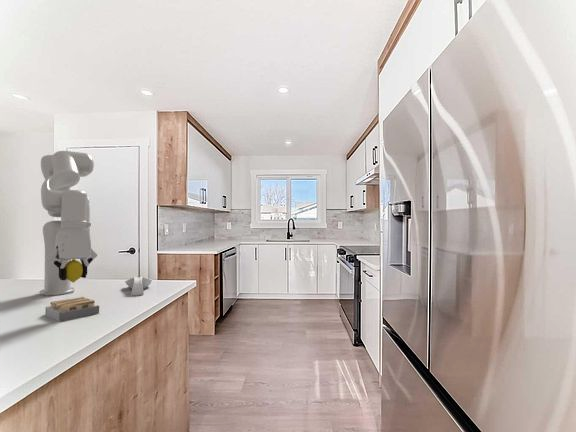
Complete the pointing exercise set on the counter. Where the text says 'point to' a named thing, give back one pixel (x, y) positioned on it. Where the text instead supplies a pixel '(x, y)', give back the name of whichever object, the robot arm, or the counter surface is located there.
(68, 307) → the pallet
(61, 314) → the dock
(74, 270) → the lemon
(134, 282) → the spoon rest
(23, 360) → the counter surface
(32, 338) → the counter surface
